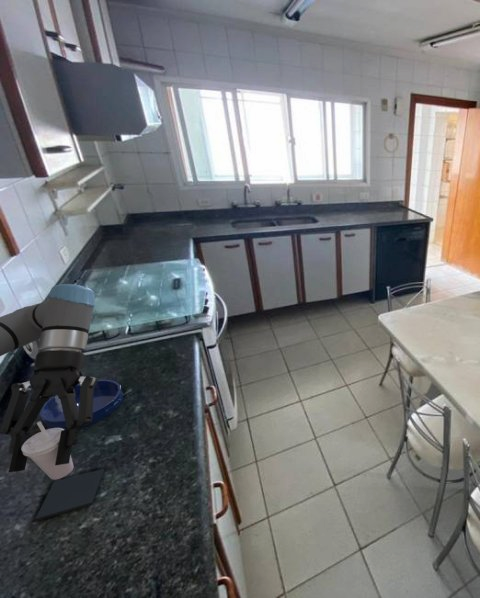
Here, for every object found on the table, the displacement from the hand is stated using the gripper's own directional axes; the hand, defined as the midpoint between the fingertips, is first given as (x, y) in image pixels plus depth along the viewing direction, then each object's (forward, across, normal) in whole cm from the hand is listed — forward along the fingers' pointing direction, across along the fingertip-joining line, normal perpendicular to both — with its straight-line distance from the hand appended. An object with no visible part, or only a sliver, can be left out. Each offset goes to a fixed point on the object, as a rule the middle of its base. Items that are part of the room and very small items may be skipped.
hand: (39, 467), depth 65 cm
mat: (+7, 0, -12) cm, 14 cm away
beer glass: (-28, +29, -47) cm, 62 cm away
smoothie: (+2, 0, -7) cm, 7 cm away
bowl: (-14, +11, -33) cm, 37 cm away
